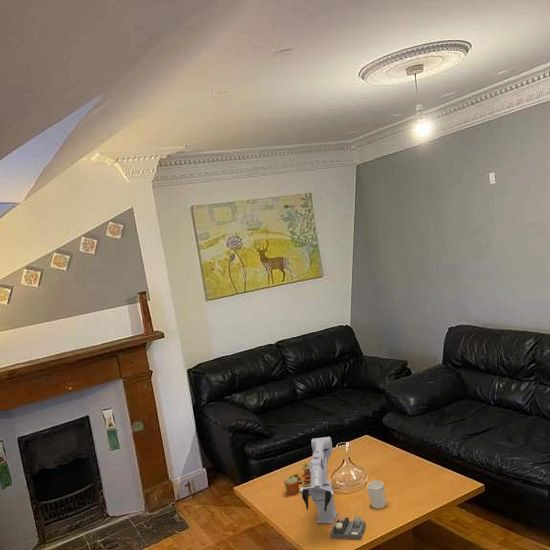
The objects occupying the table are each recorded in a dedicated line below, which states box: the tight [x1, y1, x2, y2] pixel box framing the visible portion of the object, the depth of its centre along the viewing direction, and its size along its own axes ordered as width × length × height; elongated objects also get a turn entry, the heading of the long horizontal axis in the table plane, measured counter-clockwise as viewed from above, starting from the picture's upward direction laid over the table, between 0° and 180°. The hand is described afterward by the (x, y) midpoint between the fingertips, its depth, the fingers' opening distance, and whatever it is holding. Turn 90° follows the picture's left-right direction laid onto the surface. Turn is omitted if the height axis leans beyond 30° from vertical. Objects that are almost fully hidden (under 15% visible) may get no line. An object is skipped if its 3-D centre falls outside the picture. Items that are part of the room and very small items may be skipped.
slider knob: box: [352, 516, 363, 527], centre depth 232 cm, size 3×3×3 cm
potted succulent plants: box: [284, 462, 311, 496], centre depth 283 cm, size 26×16×10 cm, turn 172°
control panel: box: [329, 517, 367, 540], centre depth 232 cm, size 10×14×4 cm
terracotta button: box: [337, 515, 346, 523], centre depth 235 cm, size 3×3×2 cm
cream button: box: [334, 522, 343, 530], centre depth 230 cm, size 3×3×2 cm
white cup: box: [366, 480, 387, 510], centre depth 249 cm, size 8×8×10 cm
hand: (316, 508), depth 224 cm, fingers open, 7 cm apart
